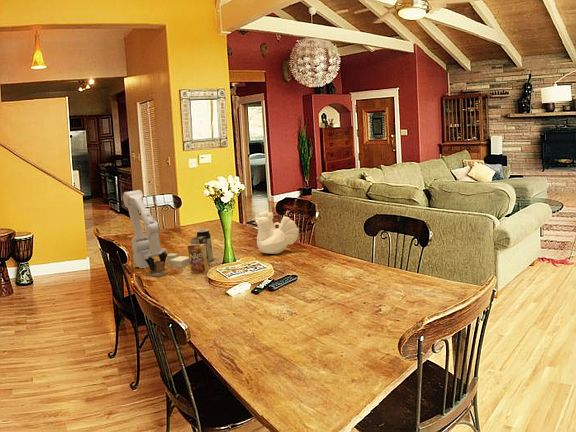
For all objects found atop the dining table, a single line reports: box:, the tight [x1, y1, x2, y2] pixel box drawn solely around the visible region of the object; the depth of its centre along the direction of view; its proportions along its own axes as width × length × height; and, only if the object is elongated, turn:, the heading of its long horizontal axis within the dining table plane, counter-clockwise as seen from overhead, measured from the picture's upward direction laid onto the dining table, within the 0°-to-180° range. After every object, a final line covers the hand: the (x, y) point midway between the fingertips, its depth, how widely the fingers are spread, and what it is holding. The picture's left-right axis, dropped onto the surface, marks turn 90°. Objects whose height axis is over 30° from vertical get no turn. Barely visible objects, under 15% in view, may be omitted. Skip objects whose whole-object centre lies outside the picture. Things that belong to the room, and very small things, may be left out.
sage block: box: [166, 252, 179, 265], centre depth 316 cm, size 5×5×5 cm
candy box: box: [187, 243, 209, 274], centre depth 289 cm, size 9×4×15 cm, turn 73°
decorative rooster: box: [254, 210, 300, 255], centre depth 314 cm, size 25×16×25 cm, turn 67°
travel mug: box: [195, 228, 214, 262], centre depth 313 cm, size 8×8×18 cm
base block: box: [169, 255, 190, 268], centre depth 309 cm, size 9×9×4 cm
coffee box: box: [190, 236, 210, 265], centre depth 301 cm, size 9×6×16 cm
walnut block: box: [150, 260, 165, 273], centre depth 300 cm, size 5×5×5 cm
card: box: [145, 271, 169, 278], centre depth 292 cm, size 10×7×1 cm
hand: (157, 268), depth 300 cm, fingers open, 7 cm apart
